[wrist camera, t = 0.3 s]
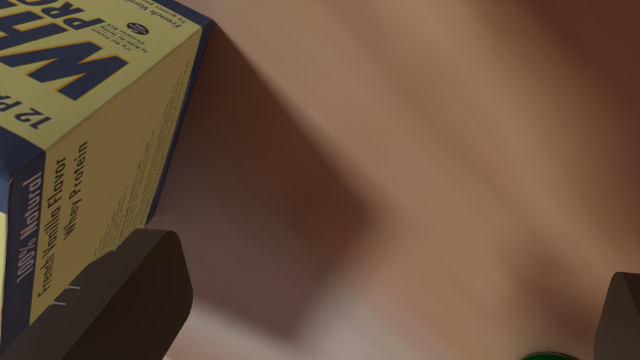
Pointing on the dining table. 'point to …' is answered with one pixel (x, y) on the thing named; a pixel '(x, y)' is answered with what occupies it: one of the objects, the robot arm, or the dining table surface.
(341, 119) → the dining table surface
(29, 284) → the protein box
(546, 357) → the soda can
